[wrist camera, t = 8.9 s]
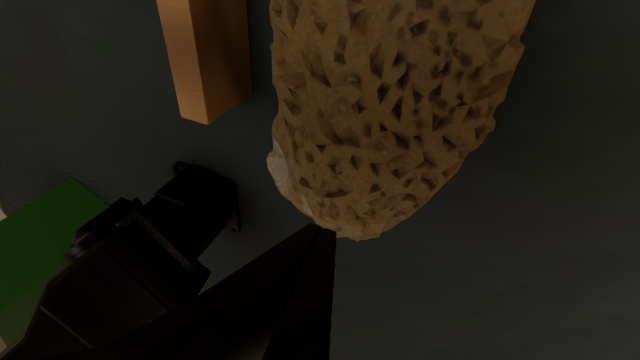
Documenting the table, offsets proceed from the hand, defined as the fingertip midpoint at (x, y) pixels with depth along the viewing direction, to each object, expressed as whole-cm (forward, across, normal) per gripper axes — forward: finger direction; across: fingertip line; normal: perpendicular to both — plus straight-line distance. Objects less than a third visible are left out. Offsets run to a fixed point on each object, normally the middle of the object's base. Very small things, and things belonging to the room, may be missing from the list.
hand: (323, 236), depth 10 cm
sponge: (+13, +2, -2) cm, 13 cm away
